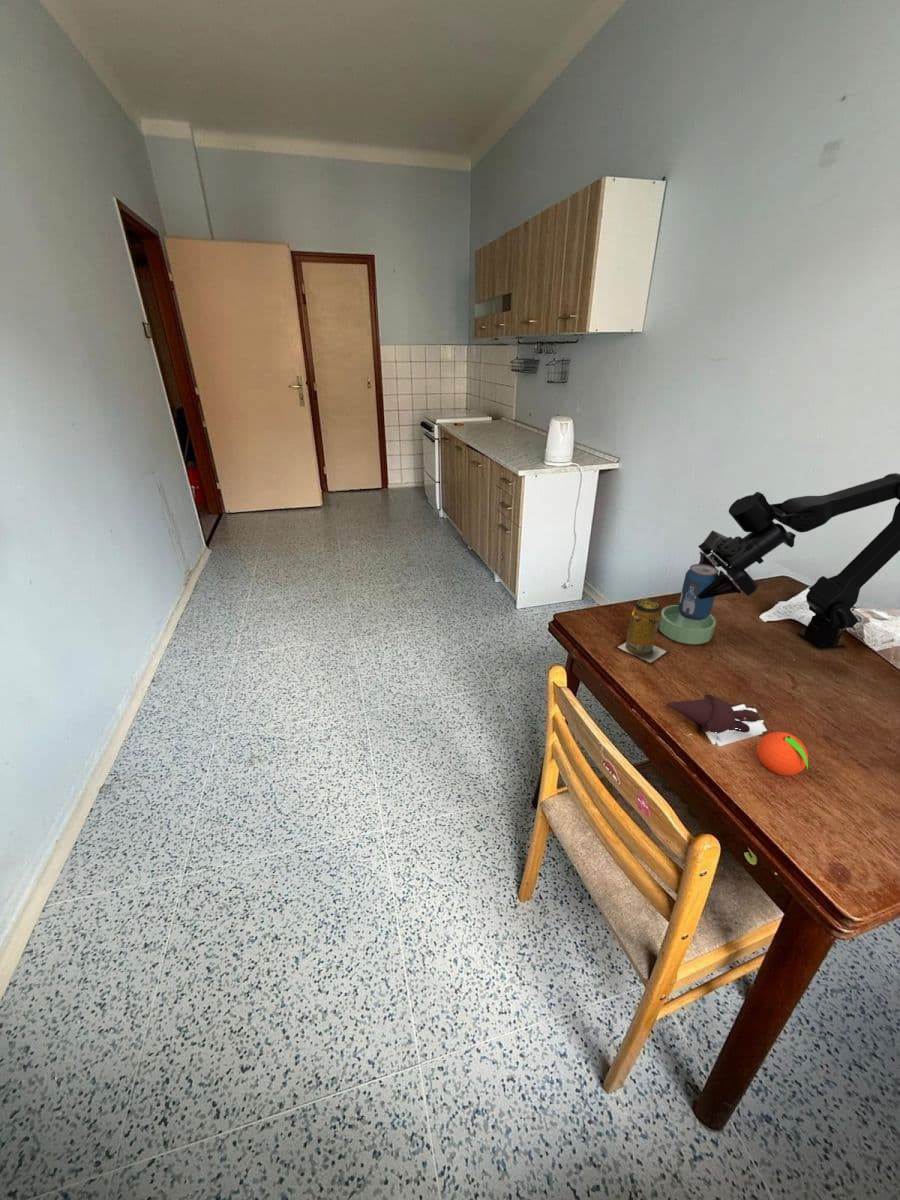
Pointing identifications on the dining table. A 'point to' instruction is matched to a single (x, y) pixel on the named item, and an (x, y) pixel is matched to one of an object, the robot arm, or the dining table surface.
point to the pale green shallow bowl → (685, 627)
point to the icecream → (715, 714)
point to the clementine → (782, 753)
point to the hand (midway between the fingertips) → (692, 590)
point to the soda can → (697, 592)
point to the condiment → (643, 631)
